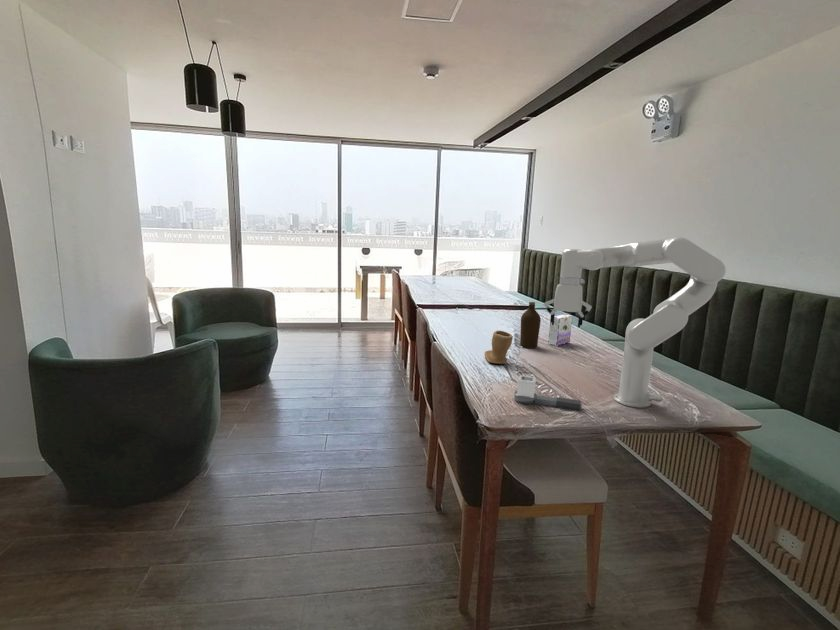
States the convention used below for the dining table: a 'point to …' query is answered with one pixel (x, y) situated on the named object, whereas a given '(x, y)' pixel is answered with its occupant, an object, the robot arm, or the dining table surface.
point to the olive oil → (530, 327)
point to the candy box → (560, 330)
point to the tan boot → (499, 347)
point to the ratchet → (549, 401)
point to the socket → (526, 386)
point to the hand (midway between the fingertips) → (565, 325)
